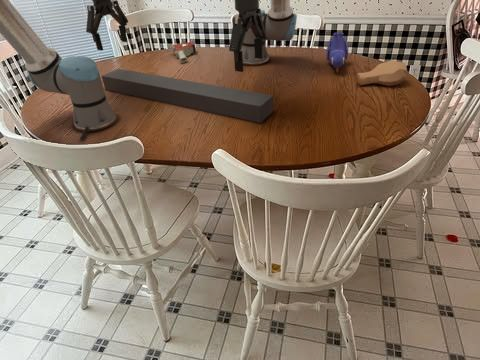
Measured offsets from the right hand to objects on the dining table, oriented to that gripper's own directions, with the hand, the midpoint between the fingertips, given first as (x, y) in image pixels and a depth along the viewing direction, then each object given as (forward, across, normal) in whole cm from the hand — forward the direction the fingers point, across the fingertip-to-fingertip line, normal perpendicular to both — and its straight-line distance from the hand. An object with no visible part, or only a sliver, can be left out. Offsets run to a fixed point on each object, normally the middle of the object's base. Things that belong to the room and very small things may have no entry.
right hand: (249, 64), depth 122 cm
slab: (+19, -1, +33) cm, 38 cm away
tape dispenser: (+19, +46, +68) cm, 85 cm away
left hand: (0, -1, +66) cm, 66 cm away
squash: (+19, +47, -36) cm, 62 cm away
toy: (+19, +59, -13) cm, 64 cm away
